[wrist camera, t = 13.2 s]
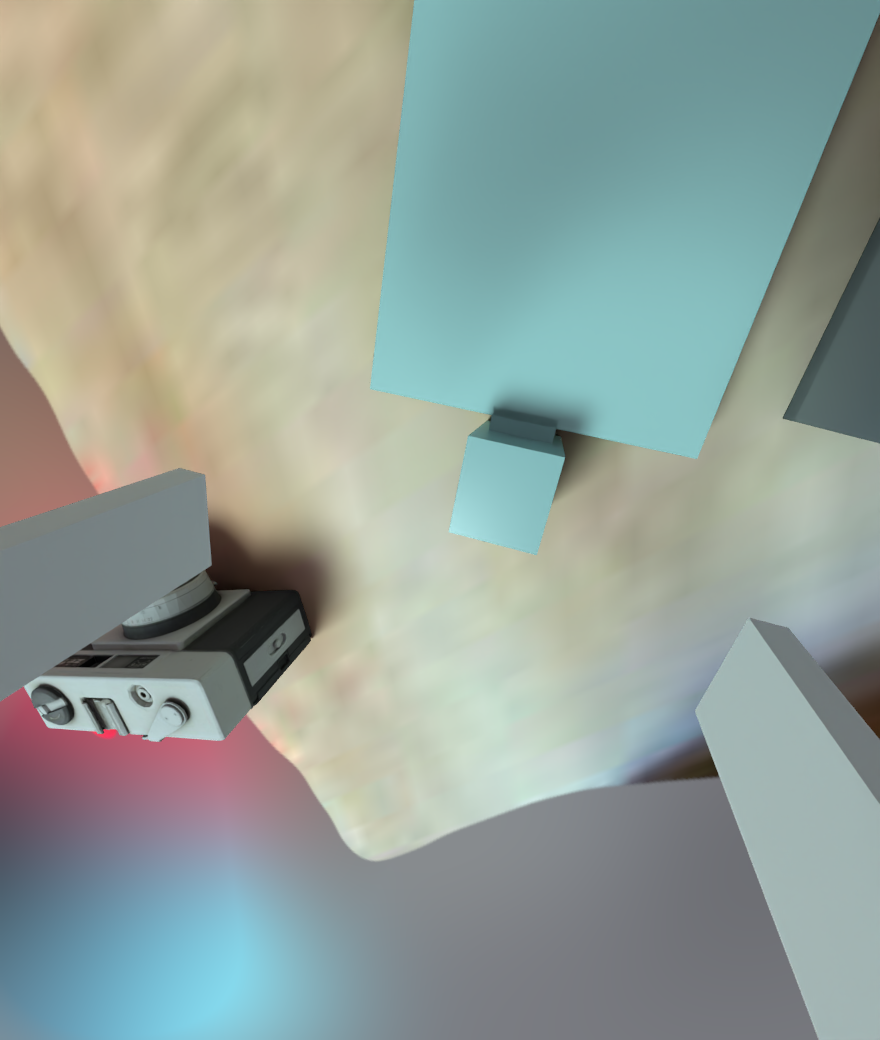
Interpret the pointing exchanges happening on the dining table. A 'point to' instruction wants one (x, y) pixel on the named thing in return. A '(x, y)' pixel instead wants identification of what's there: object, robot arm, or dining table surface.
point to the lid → (595, 219)
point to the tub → (847, 359)
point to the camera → (178, 665)
